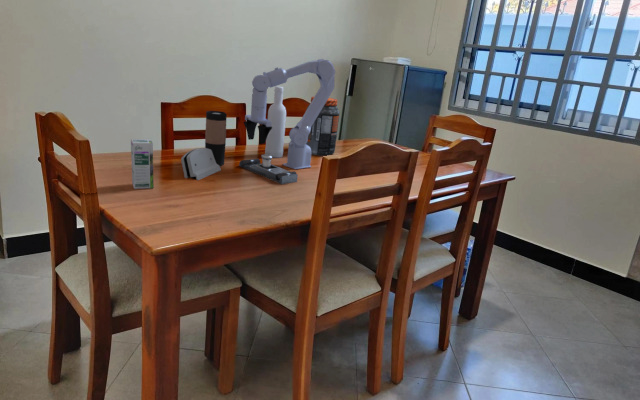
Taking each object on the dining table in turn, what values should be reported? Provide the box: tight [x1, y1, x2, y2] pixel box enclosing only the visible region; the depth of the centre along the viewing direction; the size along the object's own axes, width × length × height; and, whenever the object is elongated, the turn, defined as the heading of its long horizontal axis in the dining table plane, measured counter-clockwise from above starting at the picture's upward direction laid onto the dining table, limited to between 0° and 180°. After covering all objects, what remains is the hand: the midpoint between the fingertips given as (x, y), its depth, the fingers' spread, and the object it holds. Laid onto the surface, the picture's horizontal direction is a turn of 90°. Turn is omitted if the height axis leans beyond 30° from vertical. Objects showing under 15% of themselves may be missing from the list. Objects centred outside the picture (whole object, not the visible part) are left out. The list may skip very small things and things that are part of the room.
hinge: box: [180, 147, 221, 181], centre depth 155 cm, size 17×5×10 cm, turn 164°
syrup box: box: [130, 138, 155, 190], centre depth 134 cm, size 6×6×14 cm
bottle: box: [264, 85, 287, 159], centre depth 190 cm, size 8×8×30 cm
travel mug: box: [204, 110, 228, 167], centre depth 167 cm, size 8×8×20 cm
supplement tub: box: [305, 96, 340, 157], centre depth 207 cm, size 16×16×26 cm
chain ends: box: [238, 158, 299, 185], centre depth 165 cm, size 8×26×3 cm, turn 45°
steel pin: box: [261, 153, 273, 169], centre depth 164 cm, size 4×4×7 cm
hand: (256, 141), depth 174 cm, fingers open, 7 cm apart
